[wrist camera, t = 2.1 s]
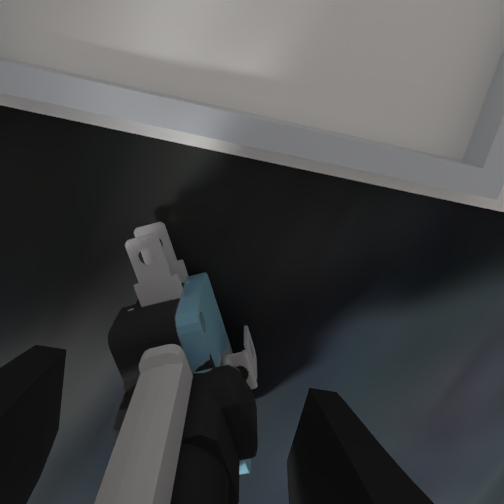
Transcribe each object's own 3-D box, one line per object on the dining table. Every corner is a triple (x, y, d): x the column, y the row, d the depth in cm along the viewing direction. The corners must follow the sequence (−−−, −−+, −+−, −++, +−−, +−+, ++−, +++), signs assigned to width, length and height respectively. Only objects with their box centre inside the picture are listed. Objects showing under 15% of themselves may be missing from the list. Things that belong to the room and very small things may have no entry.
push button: (57, 242, 12) (-537, 778, 3) (257, 191, 12) (293, 630, 3) (142, 440, 15) (-43, 1093, 5) (312, 403, 14) (438, 1042, 5)
